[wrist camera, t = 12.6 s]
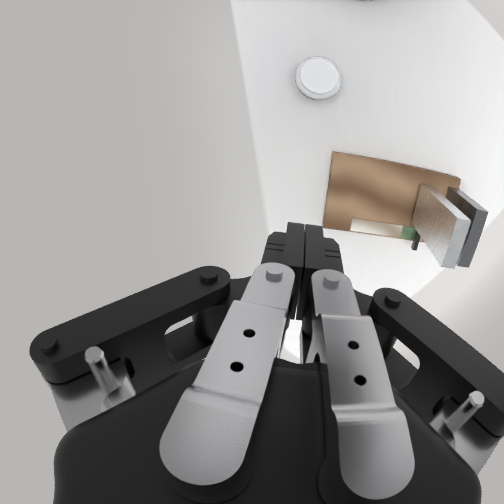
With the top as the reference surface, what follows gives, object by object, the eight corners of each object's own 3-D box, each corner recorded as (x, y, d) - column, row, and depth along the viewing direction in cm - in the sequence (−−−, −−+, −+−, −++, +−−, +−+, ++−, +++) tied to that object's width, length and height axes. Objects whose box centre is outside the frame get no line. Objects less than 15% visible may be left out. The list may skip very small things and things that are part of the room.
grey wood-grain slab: (448, 186, 35) (476, 209, 27) (458, 188, 35) (488, 212, 27) (434, 235, 39) (457, 265, 31) (445, 236, 39) (468, 267, 31)
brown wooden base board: (332, 151, 37) (333, 153, 36) (457, 177, 35) (461, 179, 34) (322, 224, 43) (323, 228, 42) (439, 241, 40) (443, 246, 39)
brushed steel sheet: (420, 184, 35) (457, 217, 25) (432, 186, 35) (471, 220, 25) (405, 243, 40) (430, 291, 30) (416, 245, 40) (444, 292, 29)
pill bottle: (333, 61, 31) (342, 51, 24) (338, 98, 34) (348, 98, 26) (293, 64, 32) (290, 54, 25) (298, 101, 35) (297, 101, 27)
